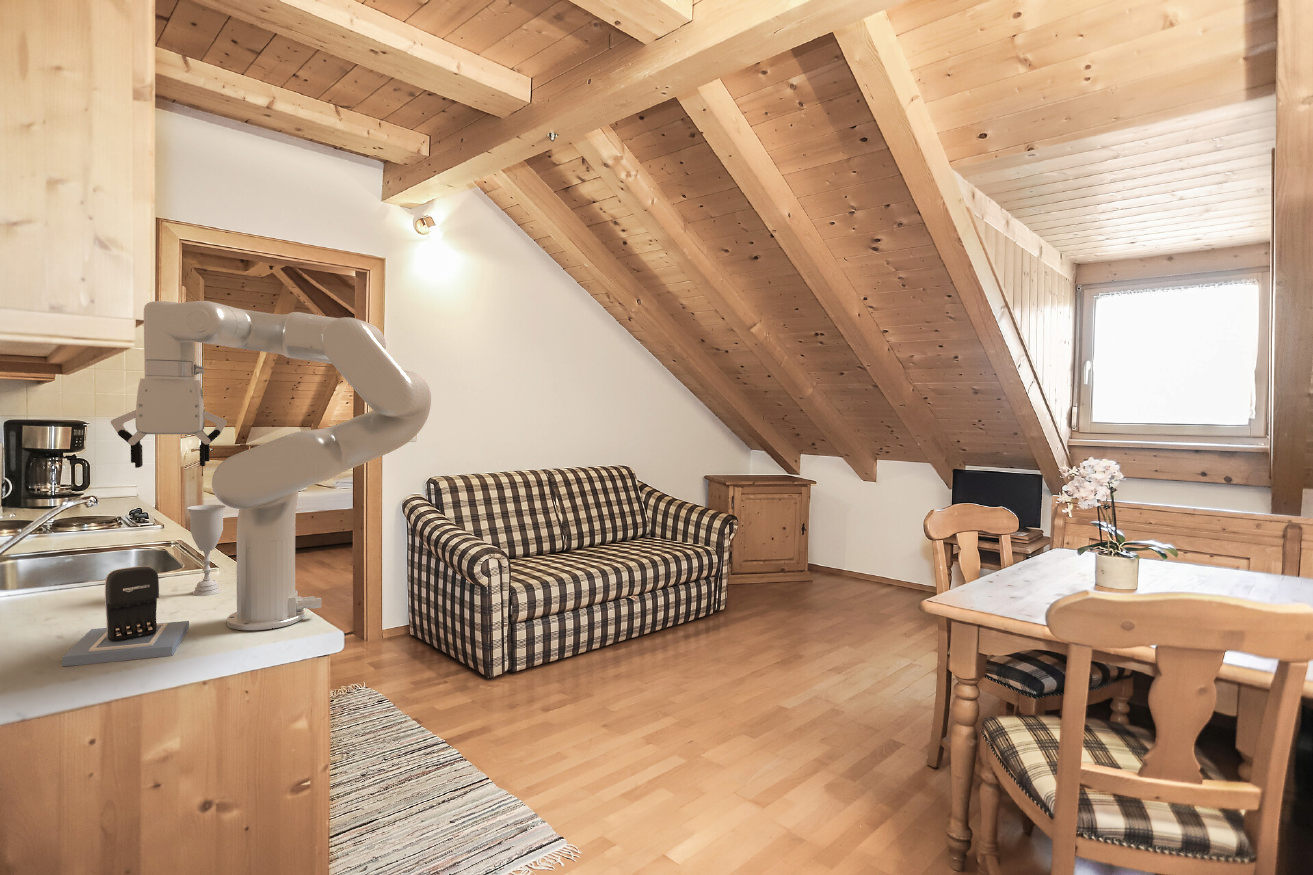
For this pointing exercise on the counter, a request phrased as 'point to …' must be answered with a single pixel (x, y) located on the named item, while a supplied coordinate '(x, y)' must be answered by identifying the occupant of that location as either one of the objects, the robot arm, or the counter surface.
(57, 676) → the counter surface
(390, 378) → the robot arm
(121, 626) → the battery charger
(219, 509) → the chalice
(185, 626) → the grey flat square block
